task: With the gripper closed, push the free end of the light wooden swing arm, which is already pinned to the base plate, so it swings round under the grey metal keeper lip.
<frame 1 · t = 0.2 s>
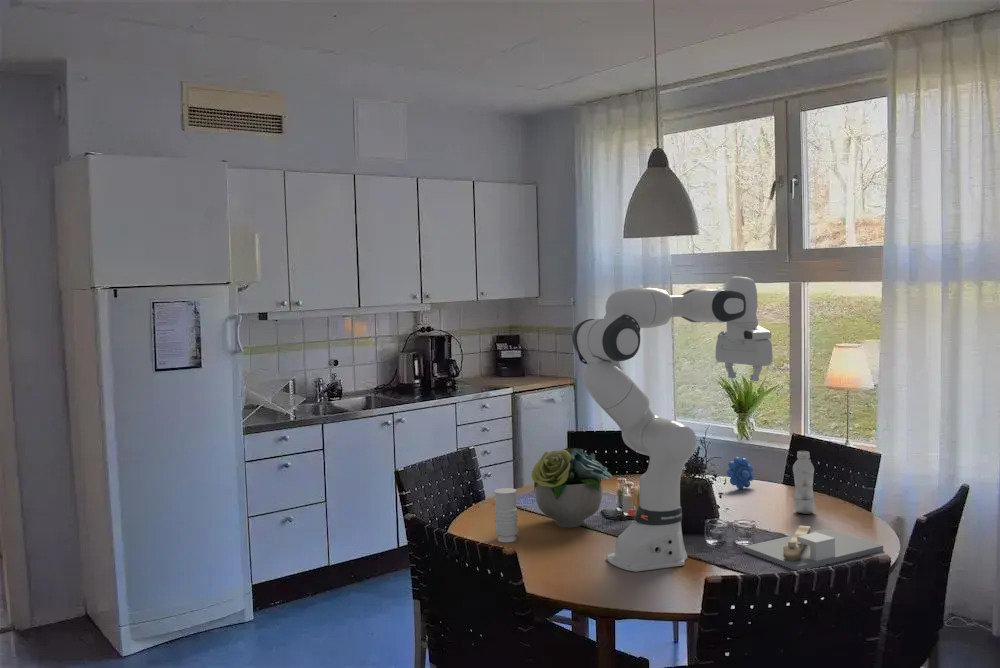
hand: (743, 379, 247), 47 cm above the table, fingers open, 8 cm apart
grapes: (742, 490, 307), on the table
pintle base: (813, 551, 236), on the table
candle: (507, 539, 258), on the table
plastic bottle: (804, 513, 274), on the table
swing arm: (798, 541, 235), point 3 cm above the table, hinge at 35.0°
flower arrangement: (569, 525, 271), on the table
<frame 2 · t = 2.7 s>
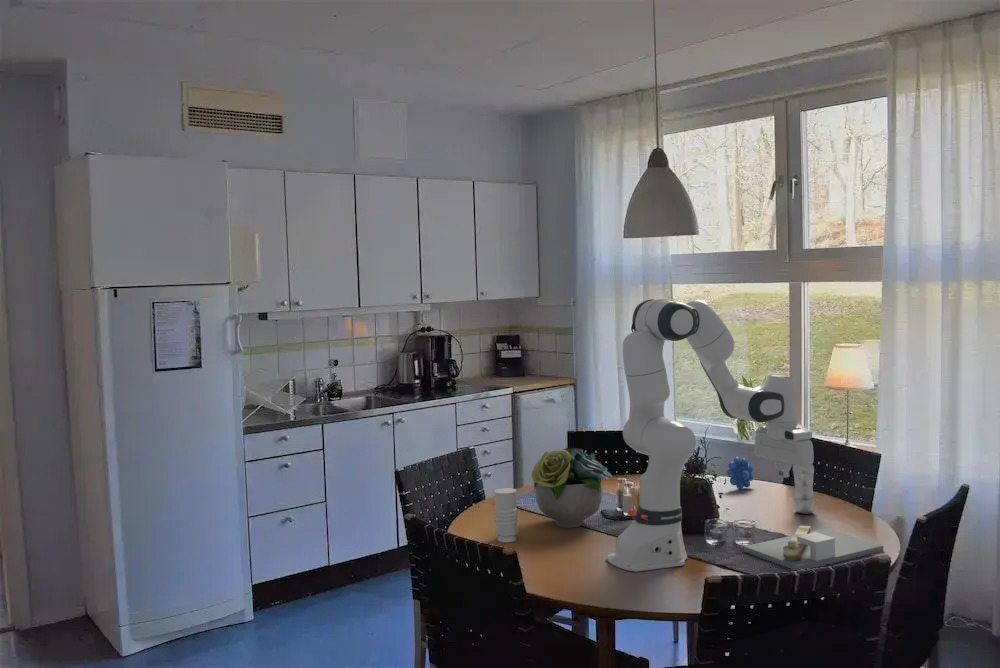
hand: (783, 476, 248), 18 cm above the table, fingers closed
nothing on the table moved.
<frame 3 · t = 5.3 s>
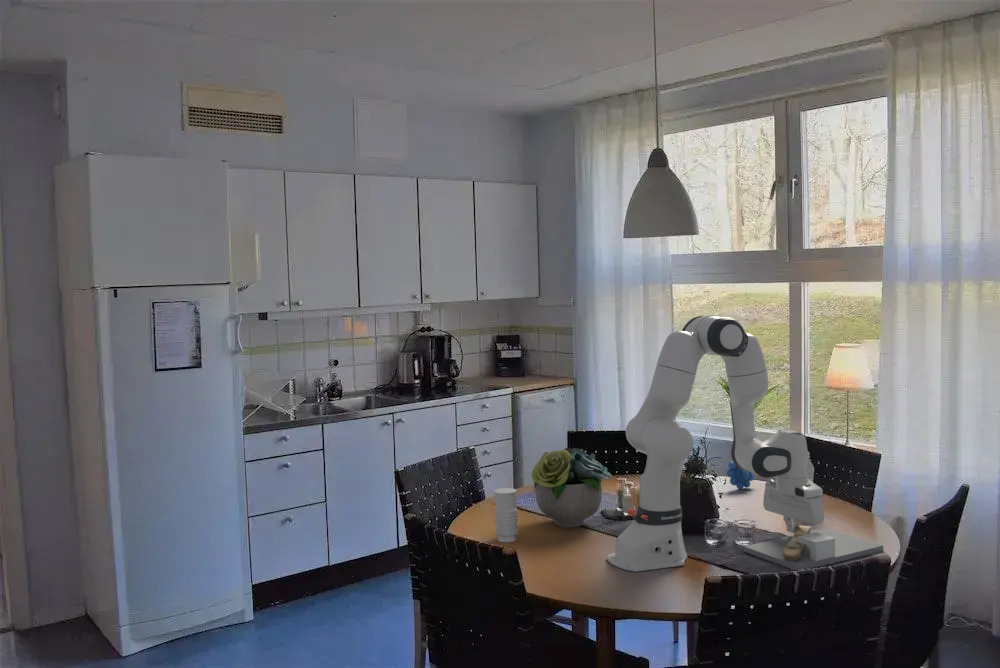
hand: (792, 532, 246), 3 cm above the table, fingers closed
swing arm: (798, 541, 235), point 3 cm above the table, hinge at 35.0°, touching gripper
everything else where it was.
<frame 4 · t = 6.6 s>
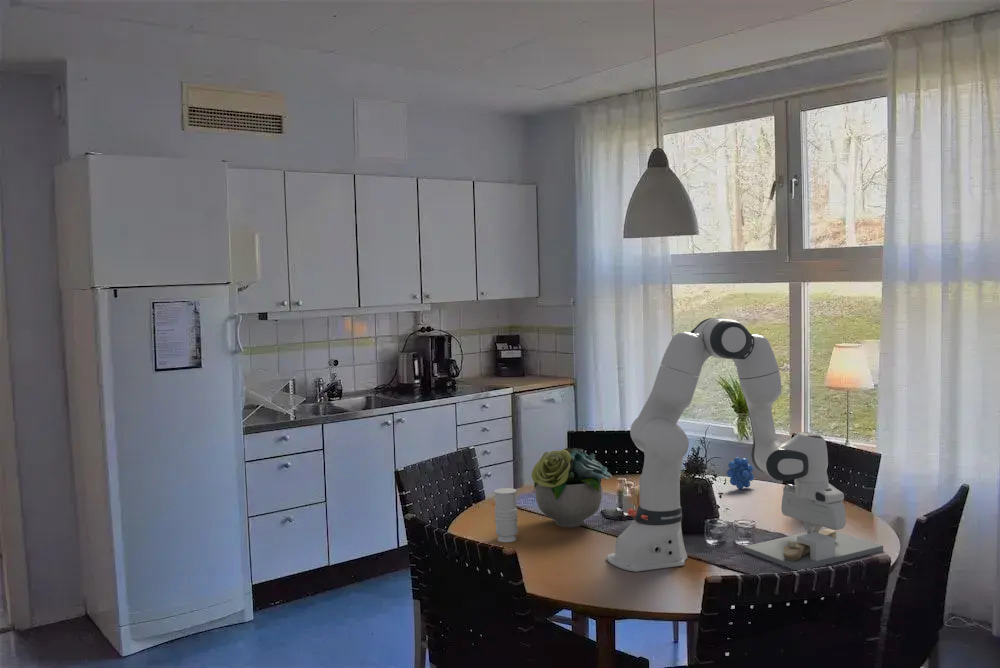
hand: (812, 537, 239), 3 cm above the table, fingers closed
swing arm: (810, 543, 233), point 3 cm above the table, hinge at 15.8°, touching gripper
everything else where it was.
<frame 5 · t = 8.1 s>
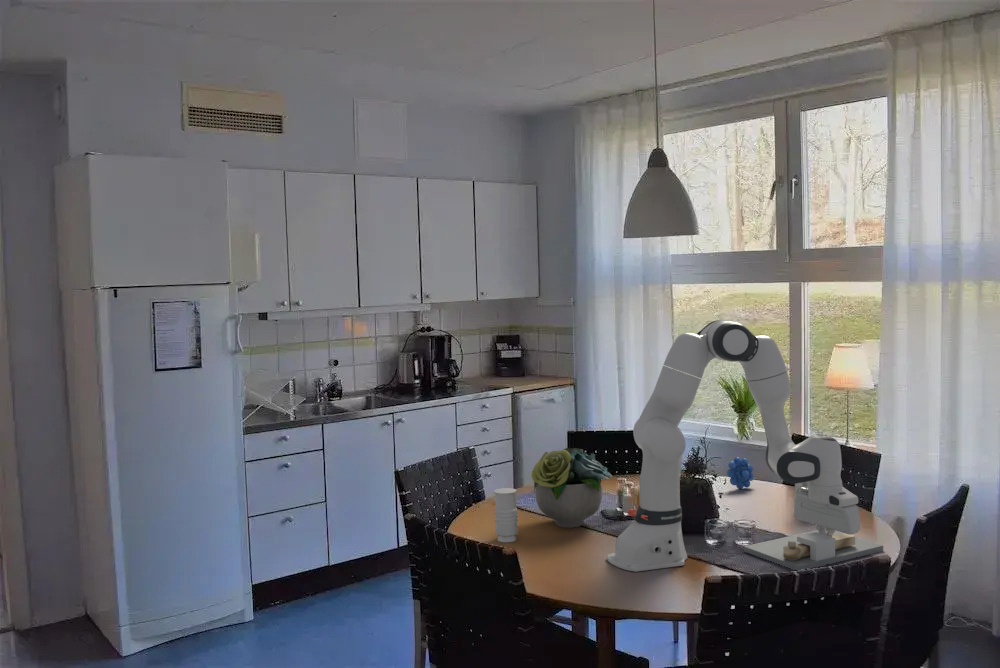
hand: (826, 542, 235), 3 cm above the table, fingers closed
swing arm: (819, 546, 230), point 3 cm above the table, hinge at -0.2°, touching gripper
everything else where it was.
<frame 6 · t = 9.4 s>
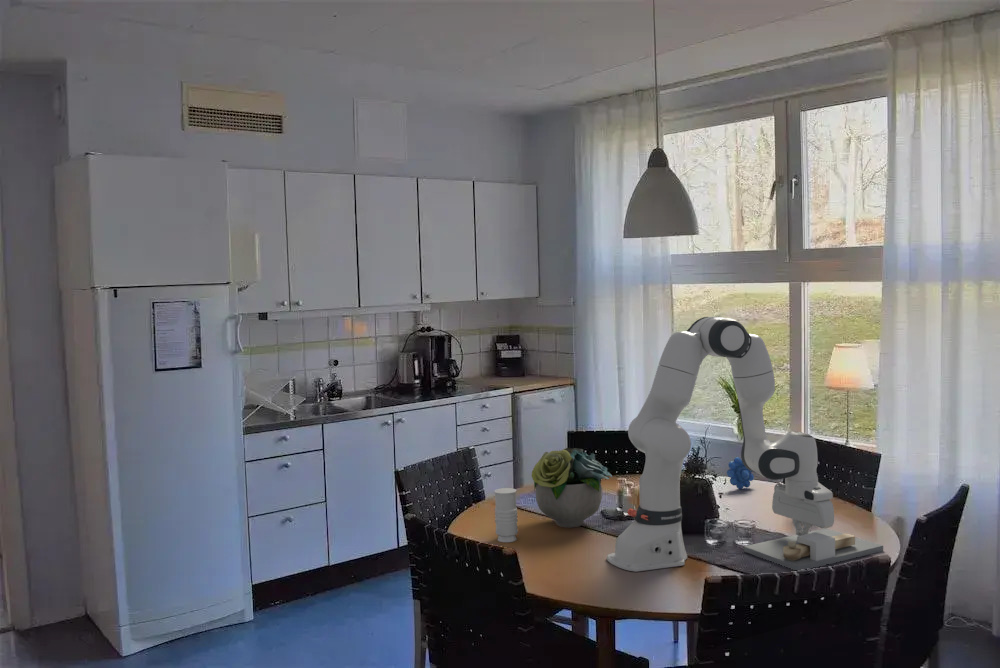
hand: (802, 535, 242), 3 cm above the table, fingers closed
swing arm: (819, 546, 230), point 3 cm above the table, hinge at -0.3°
everything else where it was.
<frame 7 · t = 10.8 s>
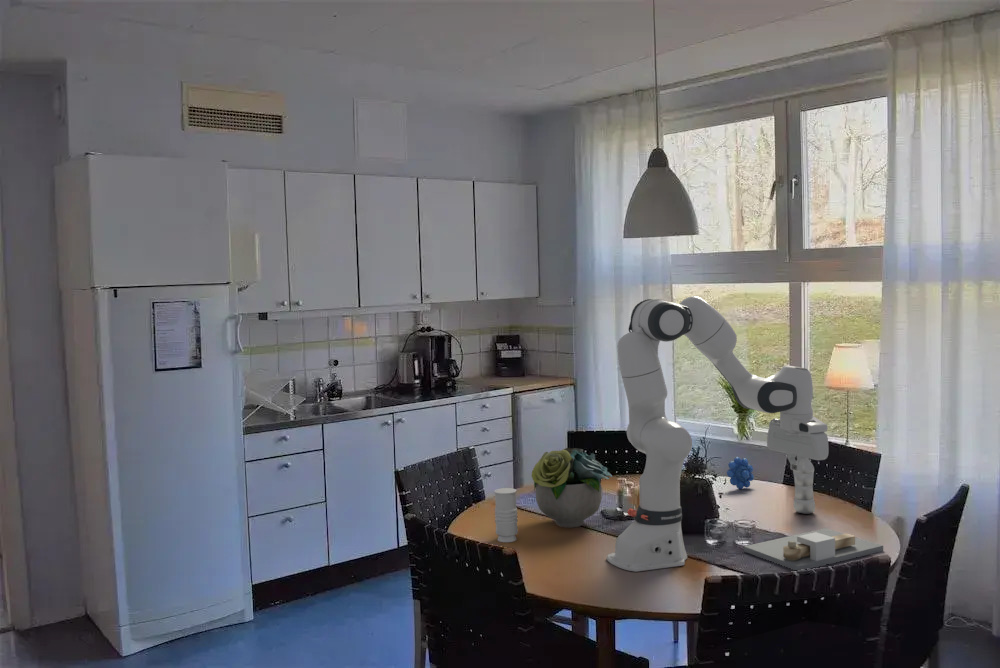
hand: (796, 470, 242), 21 cm above the table, fingers closed
nothing on the table moved.
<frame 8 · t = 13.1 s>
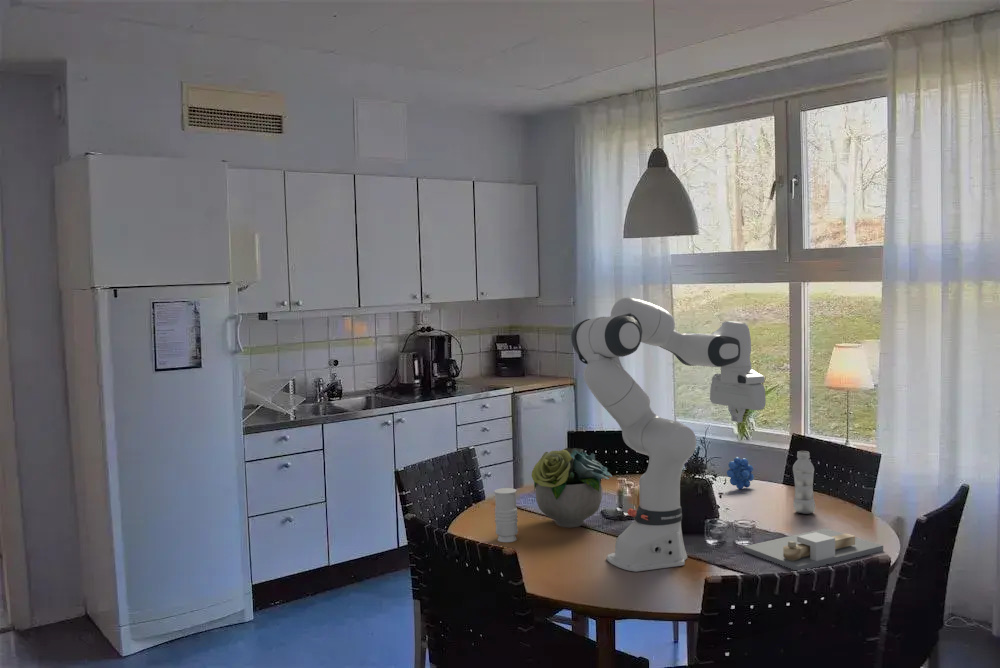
hand: (737, 421, 252), 34 cm above the table, fingers closed
nothing on the table moved.
at the end: swing arm at +0° (first picture: +35°); the gripper is holding nothing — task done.
